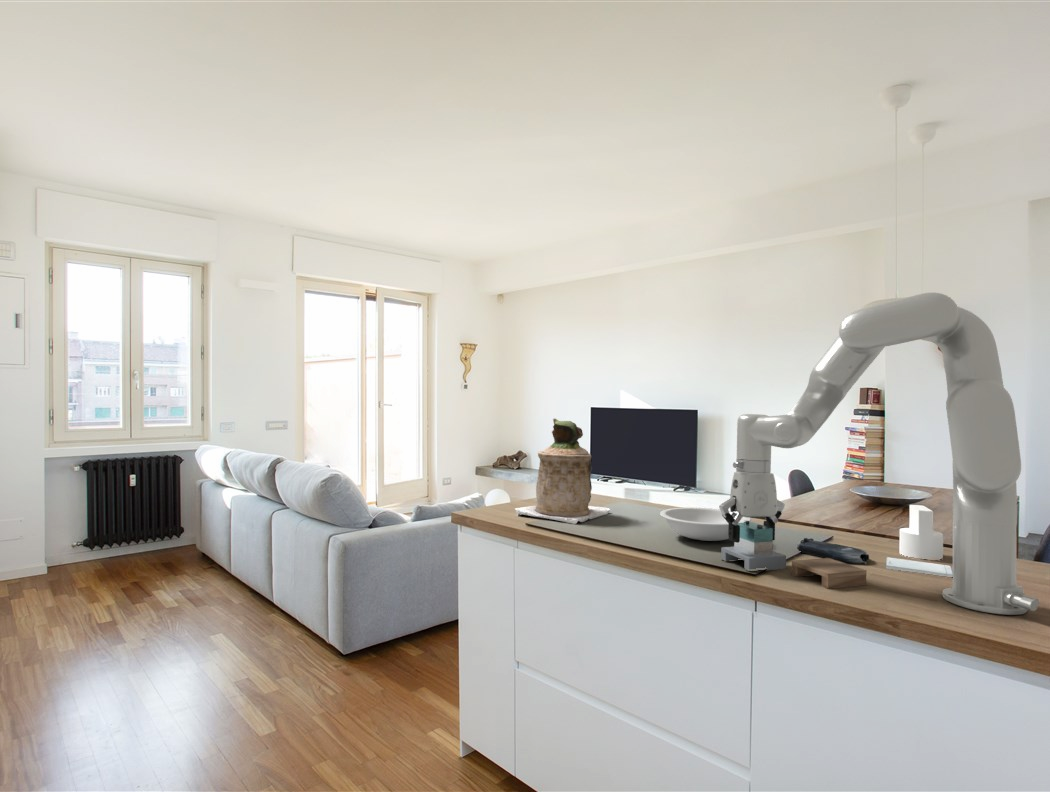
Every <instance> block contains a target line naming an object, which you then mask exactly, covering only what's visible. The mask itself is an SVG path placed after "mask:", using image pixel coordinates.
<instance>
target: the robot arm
mask: <svg viewBox="0 0 1050 792" xmlns="http://www.w3.org/2000/svg"><path fill="white" fill-rule="evenodd" d="M840 323H841V324H840V326H839V328H838V329H839V330H838V336H837V337H836V339H835V340H834V342H833V343H832V344H831V345H830V346H829V348H828V349H827V351H825V353H824V354H823V355H822V357H821V358H820V360H819V361H818V362H817V363H816V364H815V365H814V366H813V368H812V370H811V372H810V374H809V377H808V378H809V379H808V382H807V383H808V384H807V386H806V388H805V390H804V392H803V393H802V395H801V396H800V398H799V399H798V401H797V402H796V403H795V405H794V406H793V407H792V408H791V409H790V411H789V412H787V414H781V415H771V416H770V415H766V414H757V413H756V414H755V413H754V414H753V413H751V414H749V413H746V414H745V413H744V414H740V415H739V417H737V424H736V425H737V427H736V460H735V462H733V464H732V467H733V468H734V469H735V471H734V472H733V475H732V481H731V487H730V495H729V498H728V499H727V500H725V501H724V502H722V503H720V504H719V507H718V508H719V509H720V510H721V513H722V516H723V517H724V518H725V520H726V522H727V523H729V527H728V536H729V539H728V540H729V541H732V542H733V543H734V542H736V543H739V542H740V525H737V524H738V523H739V521H740V520H741V519H742V517H750V518H764V519H765V520H763V524H762V525H763V526H767V527H770V528H773V541H775V539H776V537H775V536H776V524H777V523H778V521H779V518H780V517H781V516H782V513H783V510H784V508H785V505H786V504H785V503H784V502H782V501H781V500H779V499H778V496H777V495H778V494H777V484H776V479H775V475H774V473H772V472H771V471H772V467H771V466H772V447H775V448H781V449H793V448H797V447H800V446H804V445H806V444H807V443H808V442H809V441H810V440H811V439H812V438H813V437H814V436H815V435H816V433H817V432H818V431H819V430H820V428H822V427H823V425H824V424H825V423H826V421H827V420H829V418H830V416H831V415H832V414H833V412H834V411H835V410H836V408H838V406H839V404H841V402H842V401H843V400H844V399H845V397H846V396H847V394H848V393H849V392H850V390H851V389H852V388H853V386H854V385H855V384H856V383H857V382H858V381H859V379H860V378H861V376H862V375H863V374H864V373H865V372H866V370H867V369H868V368H869V367H870V365H871V364H872V363H873V362H874V361H875V360H876V359H877V357H878V356H879V355H880V353H881V352H882V351H883V350H885V348H886V347H890V346H895V345H896V346H897V345H901V344H904V343H909V342H914V341H918V340H921V341H924V342H925V341H926V342H931V343H933V344H935V345H936V346H937V347H938V348H939V350H940V352H941V354H942V359H943V367H944V372H945V378H946V379H945V380H946V389H947V397H946V398H947V399H946V401H945V408H946V409H945V410H946V416H947V423H948V424H947V425H948V430H949V431H948V432H949V439H950V446H951V449H950V450H951V455H952V499H953V500H952V572H953V578H951V579H952V581H951V582H952V587H947V588H944V589H943V590H942V597H943V599H944V600H946V601H948V602H950V603H951V604H954V605H957V606H959V607H962V608H965V609H969V610H973V611H978V612H983V613H989V614H996V615H1006V616H1016V615H1023V614H1026V613H1027V612H1028V611H1031V612H1035V611H1037V609H1038V608H1039V603H1040V600H1039V599H1038V598H1037V597H1033V596H1030V595H1025V593H1024V586H1022V585H1019V584H1017V526H1018V500H1017V497H1018V496H1017V495H1018V493H1017V482H1018V481H1017V480H1018V479H1019V477H1020V475H1021V472H1022V459H1021V451H1020V443H1019V442H1020V441H1019V435H1018V427H1017V420H1016V419H1017V418H1016V413H1015V412H1016V411H1015V406H1014V403H1013V399H1012V396H1011V394H1010V393H1009V391H1008V390H1007V389H1006V388H1005V385H1004V382H1003V381H1004V380H1003V374H1002V368H1001V362H1000V357H999V353H998V352H999V351H998V347H997V343H996V339H995V337H994V334H993V332H992V330H991V328H990V327H989V326H988V325H987V323H985V321H983V319H981V318H980V317H979V316H978V315H976V314H975V313H973V312H972V311H969V310H967V309H965V308H963V307H960V306H958V304H957V303H956V302H955V300H954V299H952V298H951V297H950V296H948V295H946V294H943V293H942V292H941V293H940V292H925V293H920V294H915V295H911V296H907V297H903V298H900V299H896V300H893V301H892V300H891V301H889V302H885V303H881V304H877V305H873V306H868V307H865V308H861V309H857V310H854V311H853V312H851V313H849V314H848V315H846V316H845V318H844V319H842V321H841V322H840ZM729 511H731V513H729ZM735 516H736V517H735Z"/></svg>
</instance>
